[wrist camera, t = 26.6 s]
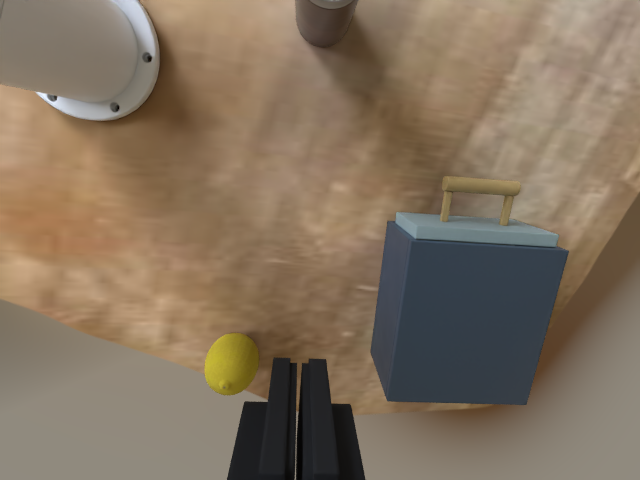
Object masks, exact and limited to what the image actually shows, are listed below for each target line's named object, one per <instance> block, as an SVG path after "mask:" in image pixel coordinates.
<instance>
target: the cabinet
mask: <svg viewBox="0 0 640 480" xmlns="http://www.w3.org/2000/svg"><path fill="white" fill-rule="evenodd" d="M568 253H569V251H568V250H565V249H563V248H560V247H558V246H556V247H541V246H524V245H515V246H511V245H494V244H478V243H461V242H445V241H429V240H416V239H415V238H414V237H412V236H411V235H410V234H409V233H407V232H406V231H405V230H404V229H403V228H401V227H400V226H399V225H398V224H396V223H395V221H388V222H387V229H386V237H385V245H384V253H383V260H382V268H381V276H380V283H379V291H378V299H377V306H376V314H375V322H374V329H373V337H372V345H371V355H372V358H373V361H374V364H375V367H376V370H377V373H378V376H379V378H380V381H381V384H382V387H383V390H384V393H385V396H386V399H387V401H394V402H433V403H471V404H510V405H512V404H515V405H526V404H527V400H528V397H529V393H530V390H531V386H532V382H533V379H534V375H535V372H536V368H537V364H538V361H539V357H540V354H541V350H542V346H543V343H544V339H545V336H546V332H547V328H548V325H549V321H550V318H551V314H552V310H553V307H554V303H555V300H556V296H557V292H558V289H559V285H560V281H561V278H562V274H563V271H564V267H565V263H566V260H567V256H568Z"/></svg>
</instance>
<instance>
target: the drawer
mask: <svg viewBox="0 0 640 480" xmlns="http://www.w3.org/2000/svg"><path fill="white" fill-rule="evenodd" d="M442 189H443V191H445V192H444V198H443V203H442V209H441V215H436V214H421V213H406V212H397V213H396V220H395V223H396V224H398V225H399V226H400V227H401V228H403V229H404V230H405V231H406V232H407V233H409V234H410V235H411V236H412V237H414V238H415V239H416V240H429V241H445V242H461V243H478V244H494V245H511V246H515V245H524V246H541V247H556V245H557V241H558V238H559V235H558V234H555V233H552V232H549V231H546V230H543V229H540V228H537V227H534V226H531V225H529V224H526V223H523V222H520V221H517V220H511V219H509V217H510V212H511V208H512V203H513V199H514V196H516V195H518V194H519V192H520V189H521V185H520V183H519V182H518V181H507V180H494V179H481V178H467V177H454V176H445V177H444V178H443V181H442ZM453 192H465V193H479V194H493V195H505V198H504V202H503V207H502V212H501V216H500V219H496V218H481V217H466V216H451V215H449V211H450V205H451V199H452V194H453Z"/></svg>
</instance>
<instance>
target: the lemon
mask: <svg viewBox="0 0 640 480" xmlns="http://www.w3.org/2000/svg"><path fill="white" fill-rule="evenodd" d="M258 365H259V353H258V349H257V347H256V344H255V343H254V342H253V340H252V339H251V338H249V337H248V336H246V335H244V334H241V333H230V334H226V335H224V336H223V337H221V338H219V339H218V340H217V341H216V342H215V343H214V344H213V345H212V347H211V348H210V350H209V352H208V354H207V357H206V361H205V378H206V381H207V383H208V384H209V386H210V388H211V389H213V390H214V391H215V392H217V393H219V394H222V395H235V394H237V393H239V392H242V391H243V390H244V389H246V388H247V387H248V386H249V384H250V383H251V382H252V380H253V379H254V377H255V375H256V372H257V370H258Z"/></svg>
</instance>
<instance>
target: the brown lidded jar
mask: <svg viewBox="0 0 640 480" xmlns="http://www.w3.org/2000/svg"><path fill="white" fill-rule="evenodd" d="M357 3H358V0H295V6H296V22H297V26H298V29H299V31H300V33H301V35H302V36H303V37H304V38H305V39H306V40H307V41H308V42H309V43H311V44H313V45H315V46H319V47H327V46H331V45H333V44H335V43H337V42H338V41H339V40H340V39H341V38H342V37H343V36H344V34H345V33H346V31H347V28H348V26H349V23H350V21H351V18H352V15H353V13H354V10H355V8H356V5H357Z"/></svg>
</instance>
